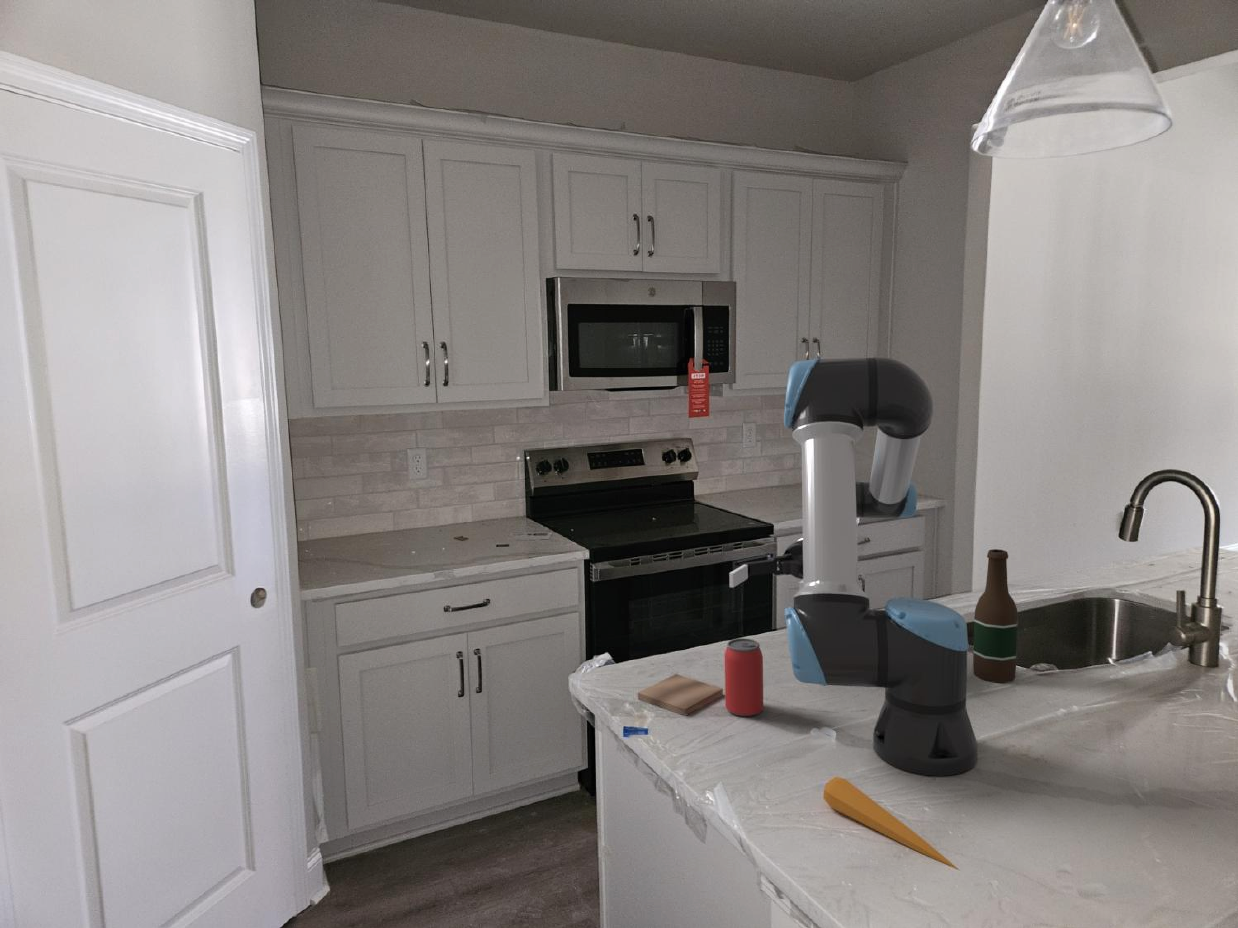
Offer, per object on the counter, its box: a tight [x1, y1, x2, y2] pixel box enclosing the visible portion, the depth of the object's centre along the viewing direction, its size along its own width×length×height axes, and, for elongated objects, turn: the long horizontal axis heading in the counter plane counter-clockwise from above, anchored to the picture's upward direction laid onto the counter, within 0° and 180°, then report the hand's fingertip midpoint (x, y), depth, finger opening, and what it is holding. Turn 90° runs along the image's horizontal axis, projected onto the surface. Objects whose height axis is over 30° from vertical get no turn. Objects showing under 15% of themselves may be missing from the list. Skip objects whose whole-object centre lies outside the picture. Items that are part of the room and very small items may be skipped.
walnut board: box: [637, 673, 724, 716], centre depth 150 cm, size 11×11×1 cm
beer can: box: [724, 638, 764, 717], centre depth 143 cm, size 7×7×12 cm
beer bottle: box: [972, 548, 1019, 684], centre depth 152 cm, size 8×8×24 cm
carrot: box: [822, 776, 960, 871], centre depth 106 cm, size 20×4×4 cm, turn 36°
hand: (765, 585), depth 149 cm, fingers open, 13 cm apart
